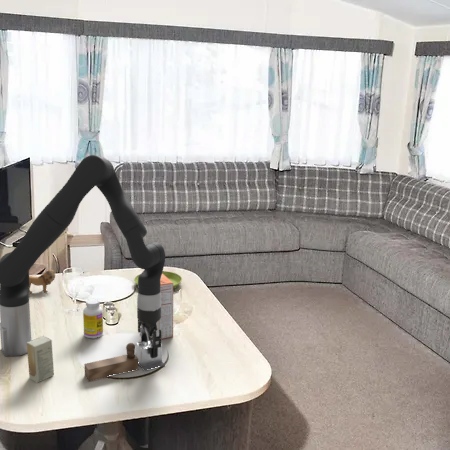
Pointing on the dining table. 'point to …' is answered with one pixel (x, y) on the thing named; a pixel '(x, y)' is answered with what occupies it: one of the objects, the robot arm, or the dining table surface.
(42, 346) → the skincare box
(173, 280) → the saucer
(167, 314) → the cracker box
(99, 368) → the body
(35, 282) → the lion figurine
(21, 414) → the dining table surface
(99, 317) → the supplement bottle
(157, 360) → the lever cap
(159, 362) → the rubber mat
